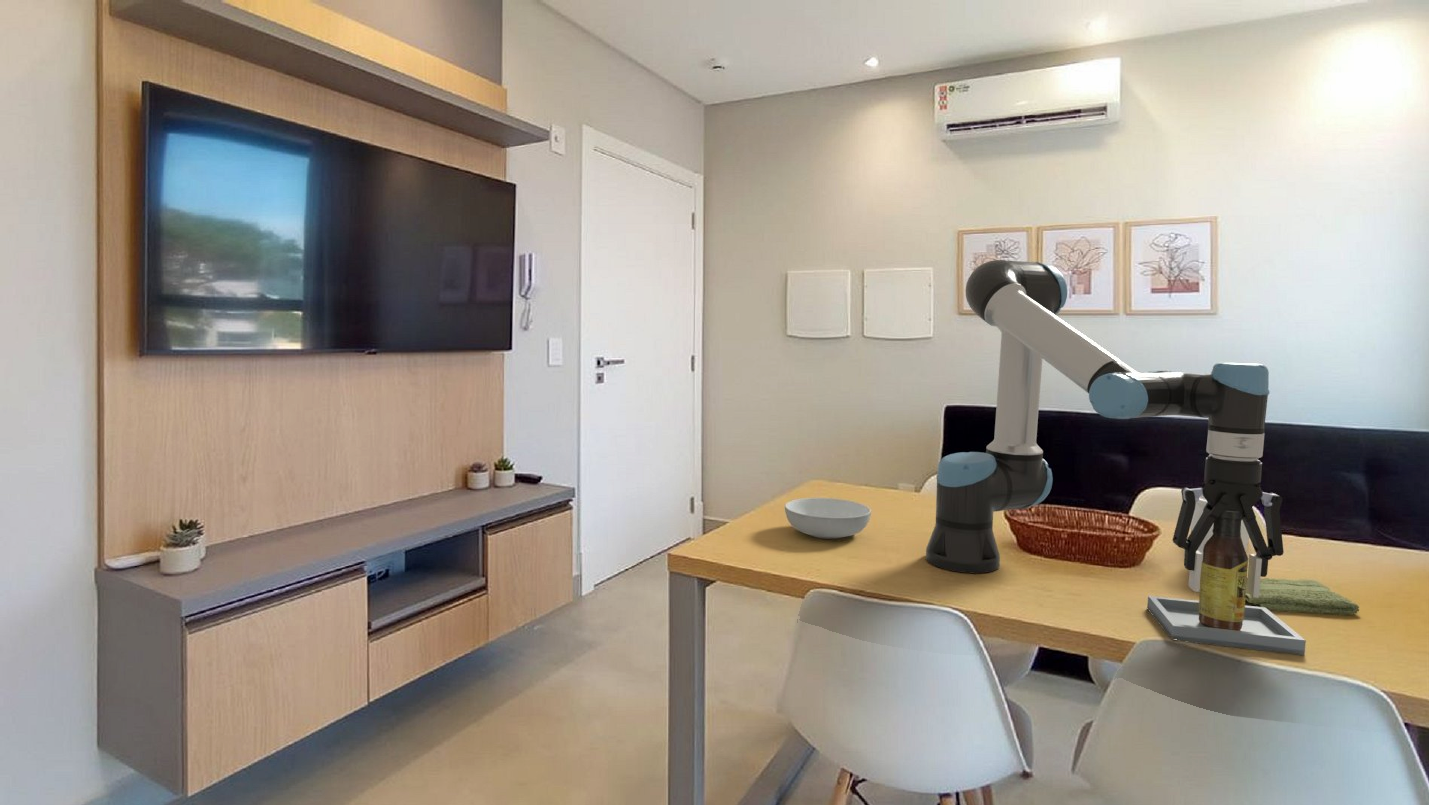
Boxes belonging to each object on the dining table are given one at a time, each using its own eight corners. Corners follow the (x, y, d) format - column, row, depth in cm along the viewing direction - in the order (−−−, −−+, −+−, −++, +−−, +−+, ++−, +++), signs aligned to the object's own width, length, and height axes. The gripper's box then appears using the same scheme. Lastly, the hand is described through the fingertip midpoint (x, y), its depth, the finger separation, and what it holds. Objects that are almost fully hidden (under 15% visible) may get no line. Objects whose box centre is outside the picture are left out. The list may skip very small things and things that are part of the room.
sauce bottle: (1244, 636, 116) (1254, 516, 114) (1198, 628, 119) (1207, 510, 117) (1240, 623, 121) (1250, 508, 119) (1196, 615, 125) (1205, 503, 123)
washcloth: (1216, 587, 142) (1217, 571, 142) (1318, 594, 139) (1319, 578, 139) (1251, 612, 130) (1253, 594, 129) (1364, 620, 126) (1366, 602, 126)
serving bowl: (878, 547, 166) (879, 518, 165) (787, 546, 166) (788, 516, 165) (861, 523, 186) (862, 497, 186) (781, 522, 187) (781, 496, 186)
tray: (1172, 640, 116) (1173, 625, 116) (1147, 608, 129) (1148, 595, 129) (1304, 655, 111) (1305, 640, 111) (1264, 620, 124) (1265, 607, 124)
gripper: (1169, 457, 117) (1159, 592, 119) (1320, 464, 111) (1307, 607, 113) (1155, 450, 124) (1146, 577, 126) (1297, 457, 118) (1285, 591, 120)
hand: (1222, 591), depth 120 cm, fingers open, 8 cm apart
